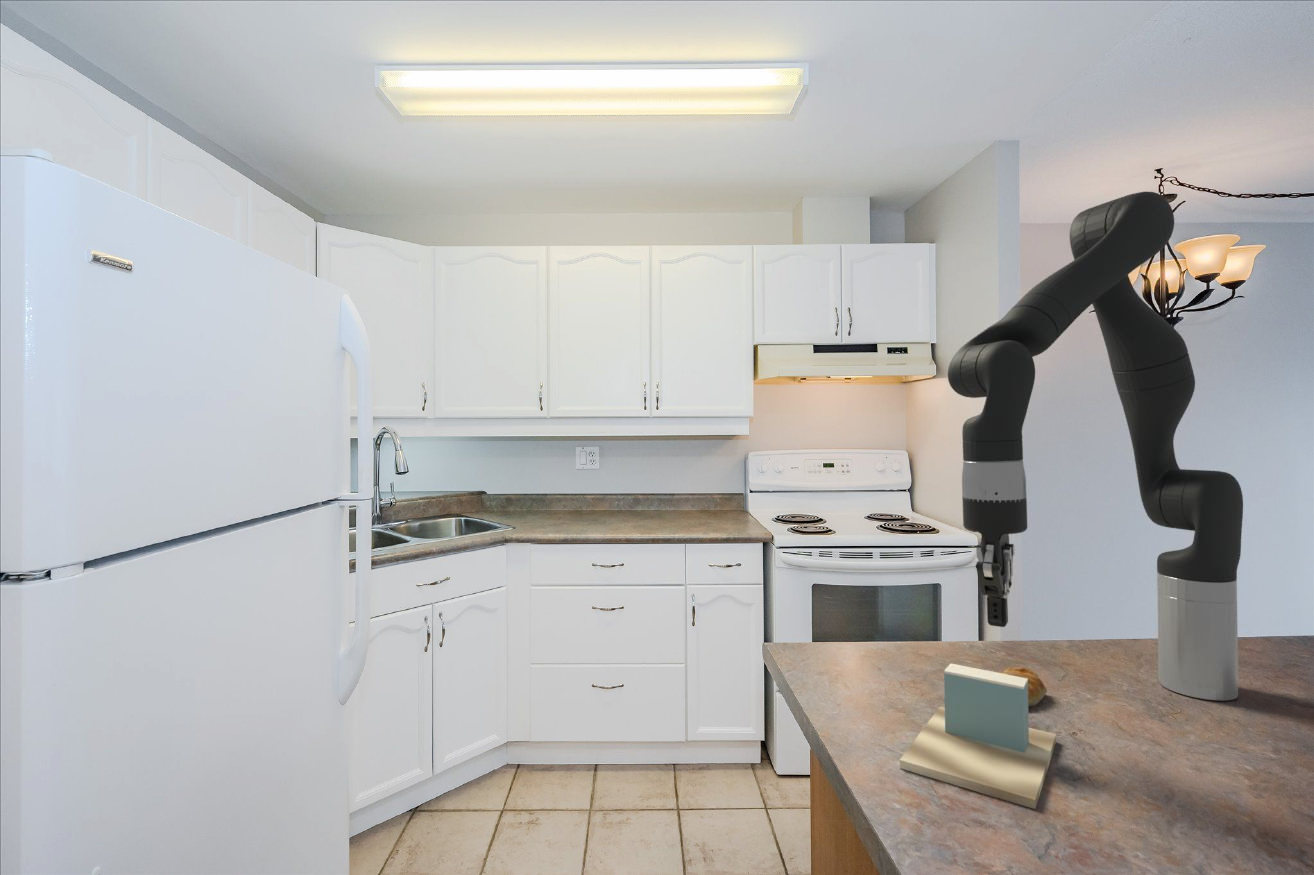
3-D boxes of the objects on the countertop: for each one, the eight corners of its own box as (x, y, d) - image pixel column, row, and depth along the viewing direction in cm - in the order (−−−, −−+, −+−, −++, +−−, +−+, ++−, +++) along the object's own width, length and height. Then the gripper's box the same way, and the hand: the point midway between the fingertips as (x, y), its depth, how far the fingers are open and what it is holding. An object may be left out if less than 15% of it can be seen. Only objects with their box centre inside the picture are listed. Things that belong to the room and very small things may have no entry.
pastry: (1033, 717, 89) (1033, 690, 89) (981, 704, 93) (980, 678, 93) (1048, 695, 96) (1047, 670, 96) (999, 684, 100) (998, 660, 100)
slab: (951, 723, 85) (950, 663, 85) (1028, 742, 79) (1027, 678, 79) (945, 732, 82) (944, 670, 82) (1024, 752, 77) (1023, 686, 77)
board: (940, 713, 90) (939, 706, 90) (1056, 741, 81) (1056, 733, 81) (899, 768, 76) (899, 759, 76) (1035, 809, 67) (1035, 799, 67)
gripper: (1018, 501, 77) (1023, 644, 77) (1033, 490, 87) (1037, 615, 87) (951, 499, 81) (956, 634, 81) (972, 488, 92) (976, 608, 92)
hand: (997, 624), depth 85 cm, fingers closed
